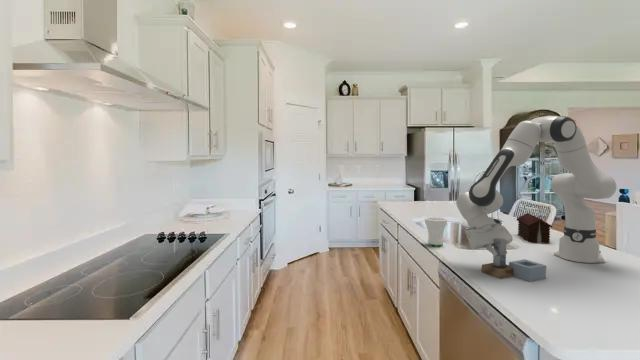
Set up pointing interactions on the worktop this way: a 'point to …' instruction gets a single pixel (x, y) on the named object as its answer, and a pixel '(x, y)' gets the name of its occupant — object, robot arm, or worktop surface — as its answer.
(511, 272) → the socket block
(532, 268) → the block
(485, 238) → the robot arm
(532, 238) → the model building
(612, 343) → the worktop surface
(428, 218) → the cup
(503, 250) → the tall brushed metal pillar
